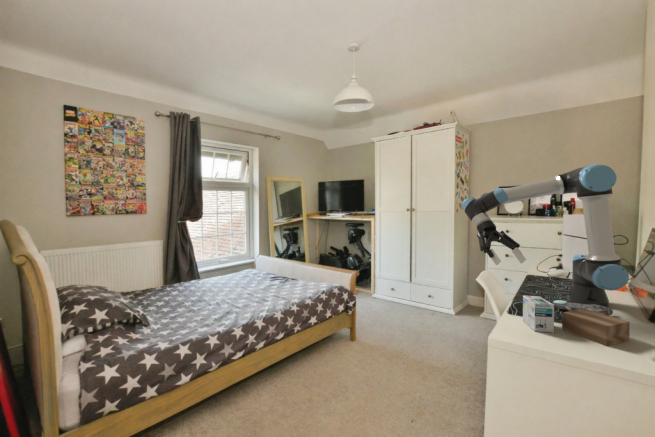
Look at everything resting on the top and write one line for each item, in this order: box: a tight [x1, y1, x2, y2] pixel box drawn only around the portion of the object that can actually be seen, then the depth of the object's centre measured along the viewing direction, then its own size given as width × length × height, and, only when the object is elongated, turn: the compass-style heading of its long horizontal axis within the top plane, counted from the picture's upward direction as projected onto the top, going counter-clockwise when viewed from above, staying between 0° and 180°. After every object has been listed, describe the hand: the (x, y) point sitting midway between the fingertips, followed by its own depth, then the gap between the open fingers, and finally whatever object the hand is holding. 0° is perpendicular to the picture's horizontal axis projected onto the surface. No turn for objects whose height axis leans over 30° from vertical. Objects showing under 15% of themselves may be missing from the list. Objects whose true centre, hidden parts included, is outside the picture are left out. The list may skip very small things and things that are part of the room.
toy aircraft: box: [552, 299, 614, 316], centre depth 129 cm, size 16×20×5 cm
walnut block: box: [561, 309, 630, 347], centre depth 108 cm, size 12×14×7 cm
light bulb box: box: [522, 295, 555, 333], centre depth 116 cm, size 11×7×11 cm, turn 168°
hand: (511, 262), depth 126 cm, fingers open, 13 cm apart
